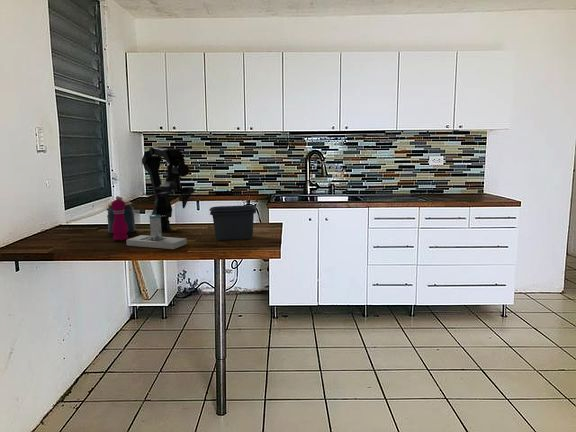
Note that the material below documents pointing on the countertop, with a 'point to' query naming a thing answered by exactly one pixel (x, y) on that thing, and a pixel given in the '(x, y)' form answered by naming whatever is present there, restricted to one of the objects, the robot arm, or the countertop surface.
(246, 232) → the storage bin
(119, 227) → the pepper mill
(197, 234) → the countertop surface
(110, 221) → the canister
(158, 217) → the sleeve
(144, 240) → the white flat box
